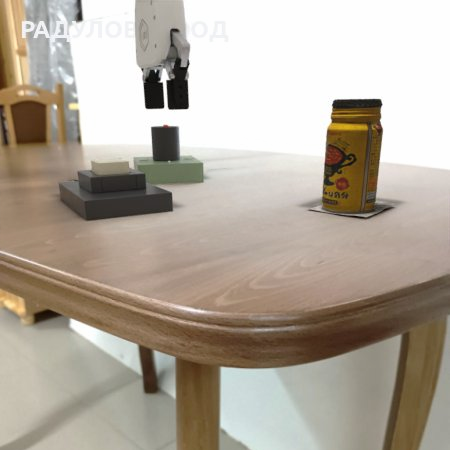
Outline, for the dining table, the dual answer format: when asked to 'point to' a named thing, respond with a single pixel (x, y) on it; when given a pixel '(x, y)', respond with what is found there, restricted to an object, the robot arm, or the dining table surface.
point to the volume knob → (165, 143)
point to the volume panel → (170, 170)
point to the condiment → (353, 158)
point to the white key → (110, 166)
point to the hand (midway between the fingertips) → (166, 109)
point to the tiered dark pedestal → (114, 195)
